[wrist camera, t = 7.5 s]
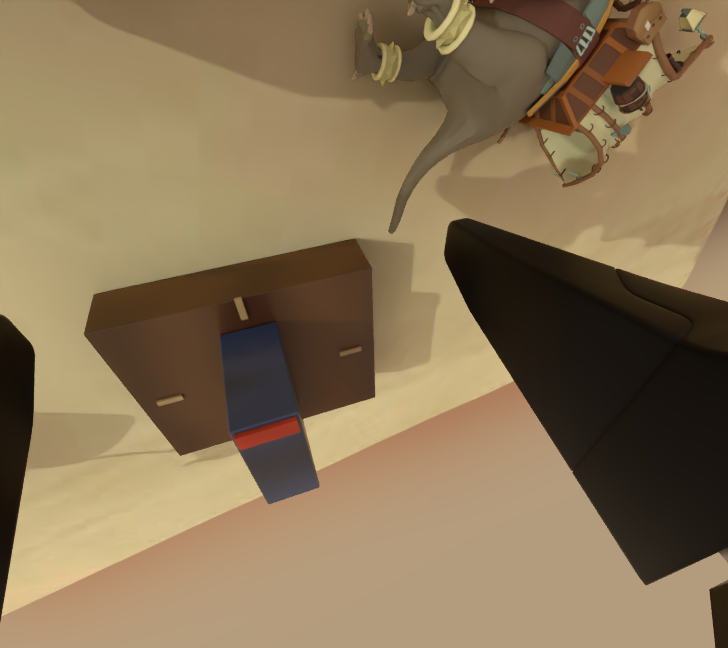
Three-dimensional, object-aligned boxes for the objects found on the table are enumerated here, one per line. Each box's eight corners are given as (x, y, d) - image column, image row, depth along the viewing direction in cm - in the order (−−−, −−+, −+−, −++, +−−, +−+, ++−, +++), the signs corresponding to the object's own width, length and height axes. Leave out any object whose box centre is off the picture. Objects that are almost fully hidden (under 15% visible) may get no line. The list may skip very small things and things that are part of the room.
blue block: (299, 404, 27) (321, 491, 22) (254, 417, 26) (268, 509, 22) (276, 320, 21) (300, 416, 17) (219, 334, 20) (228, 438, 16)
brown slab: (180, 420, 29) (180, 459, 26) (92, 292, 20) (81, 335, 18) (363, 368, 31) (376, 399, 29) (355, 236, 23) (372, 267, 20)
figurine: (935, -1212, 5) (976, -163, 14) (573, -650, 9) (783, -129, 18) (336, 237, 14) (586, 301, 23) (298, 179, 19) (521, 251, 28)
